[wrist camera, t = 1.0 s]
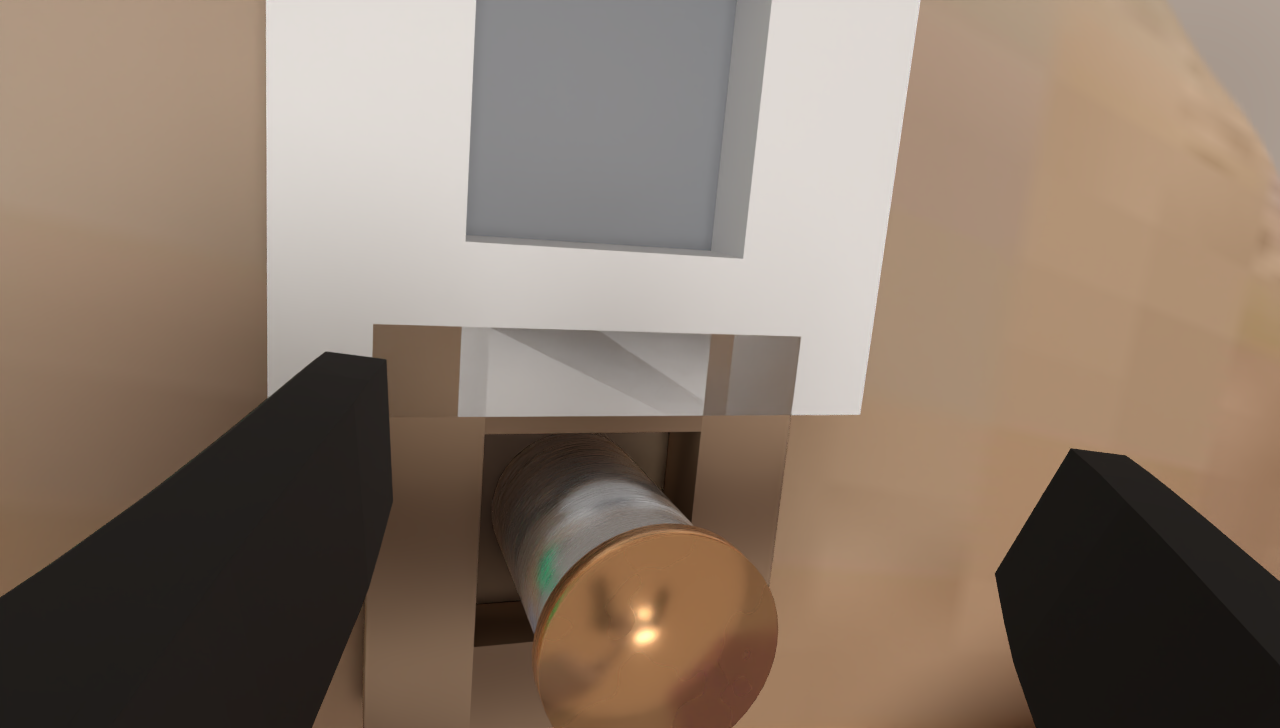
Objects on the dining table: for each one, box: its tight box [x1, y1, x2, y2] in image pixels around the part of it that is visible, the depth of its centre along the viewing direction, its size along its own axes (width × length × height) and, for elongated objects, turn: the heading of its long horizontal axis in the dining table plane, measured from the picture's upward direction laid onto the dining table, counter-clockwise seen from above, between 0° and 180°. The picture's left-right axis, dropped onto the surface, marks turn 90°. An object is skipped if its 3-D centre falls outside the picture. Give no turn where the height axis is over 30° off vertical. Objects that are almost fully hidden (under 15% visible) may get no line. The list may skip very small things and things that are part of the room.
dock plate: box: [266, 0, 920, 417], centre depth 19 cm, size 14×14×2 cm
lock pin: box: [492, 433, 778, 728], centre depth 19 cm, size 5×5×7 cm
